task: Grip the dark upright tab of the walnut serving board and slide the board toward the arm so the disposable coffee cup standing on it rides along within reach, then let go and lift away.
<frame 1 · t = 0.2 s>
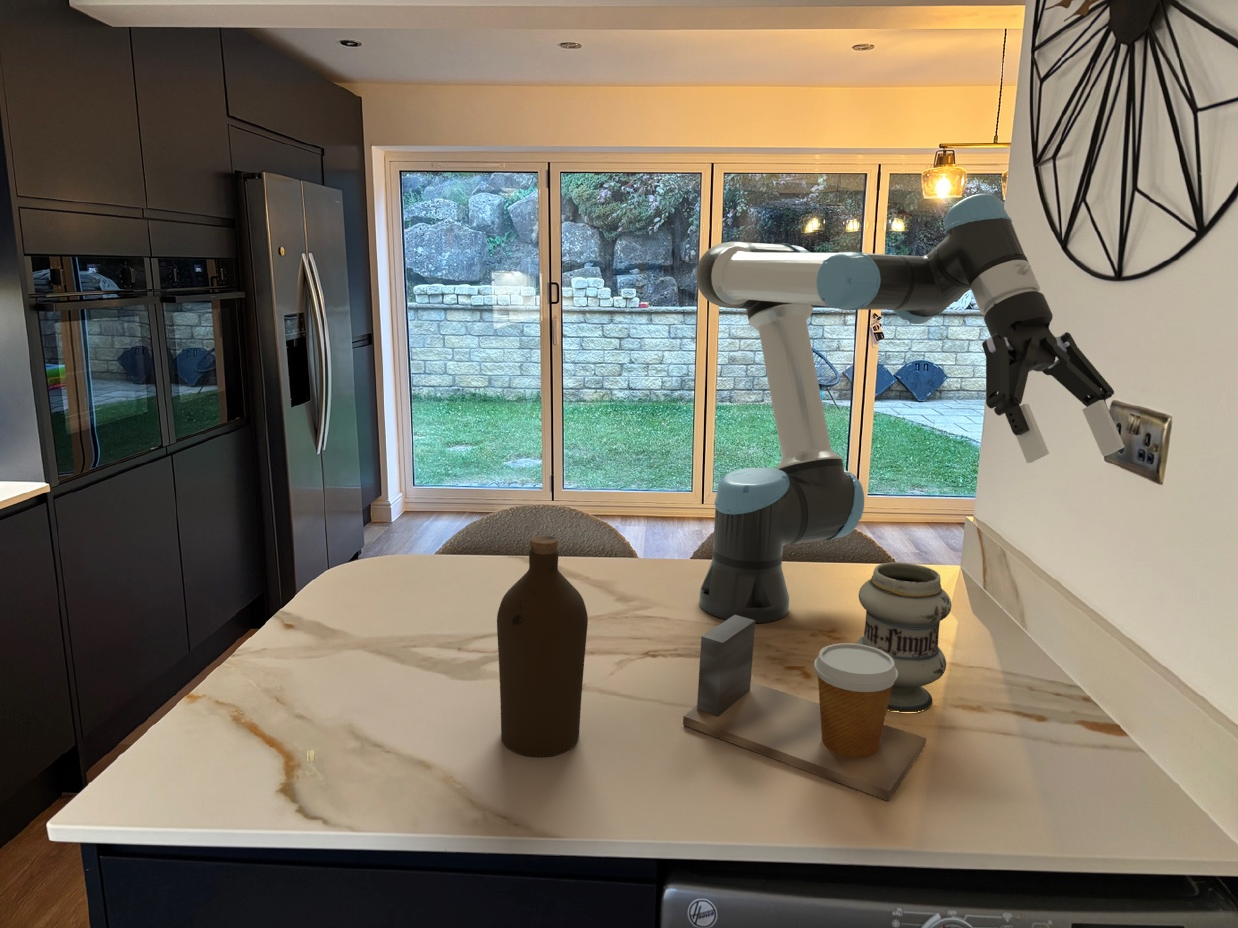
hand: (1077, 455, 106), 36 cm above the kitchen island, tool tilted 35°, fingers open, 13 cm apart
olive oil: (540, 737, 106), on the kitchen island
walnut board: (806, 694, 107), point 6 cm above the kitchen island, slide at 2.9 cm, touching disposable coffee cup
apothecary jar: (893, 697, 120), on the kitchen island
disposable coffee cup: (849, 752, 105), resting on walnut board
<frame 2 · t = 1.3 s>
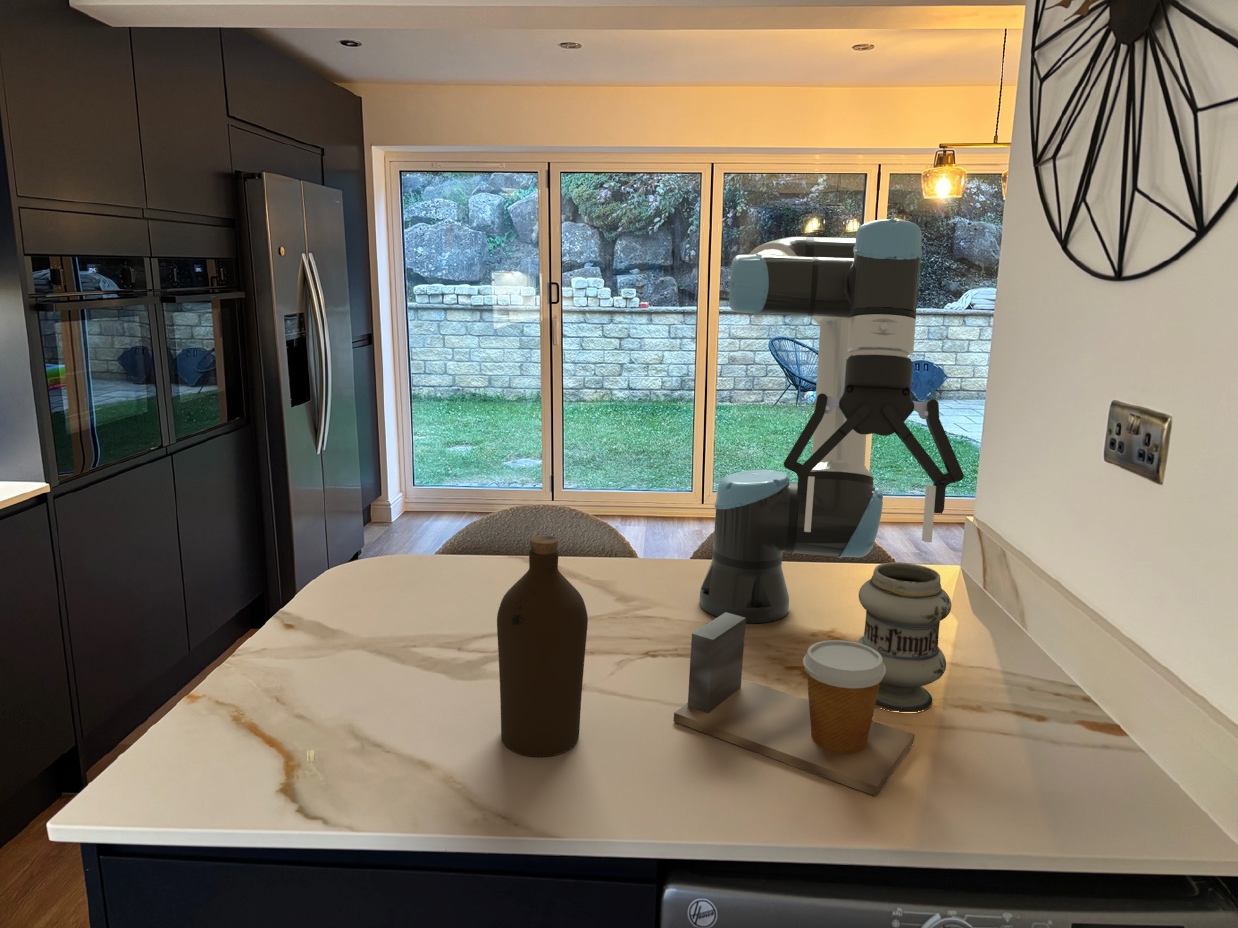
hand: (866, 536, 103), 26 cm above the kitchen island, tool pointing down, fingers open, 13 cm apart
walnut board: (795, 690, 108), point 6 cm above the kitchen island, slide at 4.2 cm, touching disposable coffee cup
disposable coffee cup: (838, 748, 106), resting on walnut board
everything else where it was.
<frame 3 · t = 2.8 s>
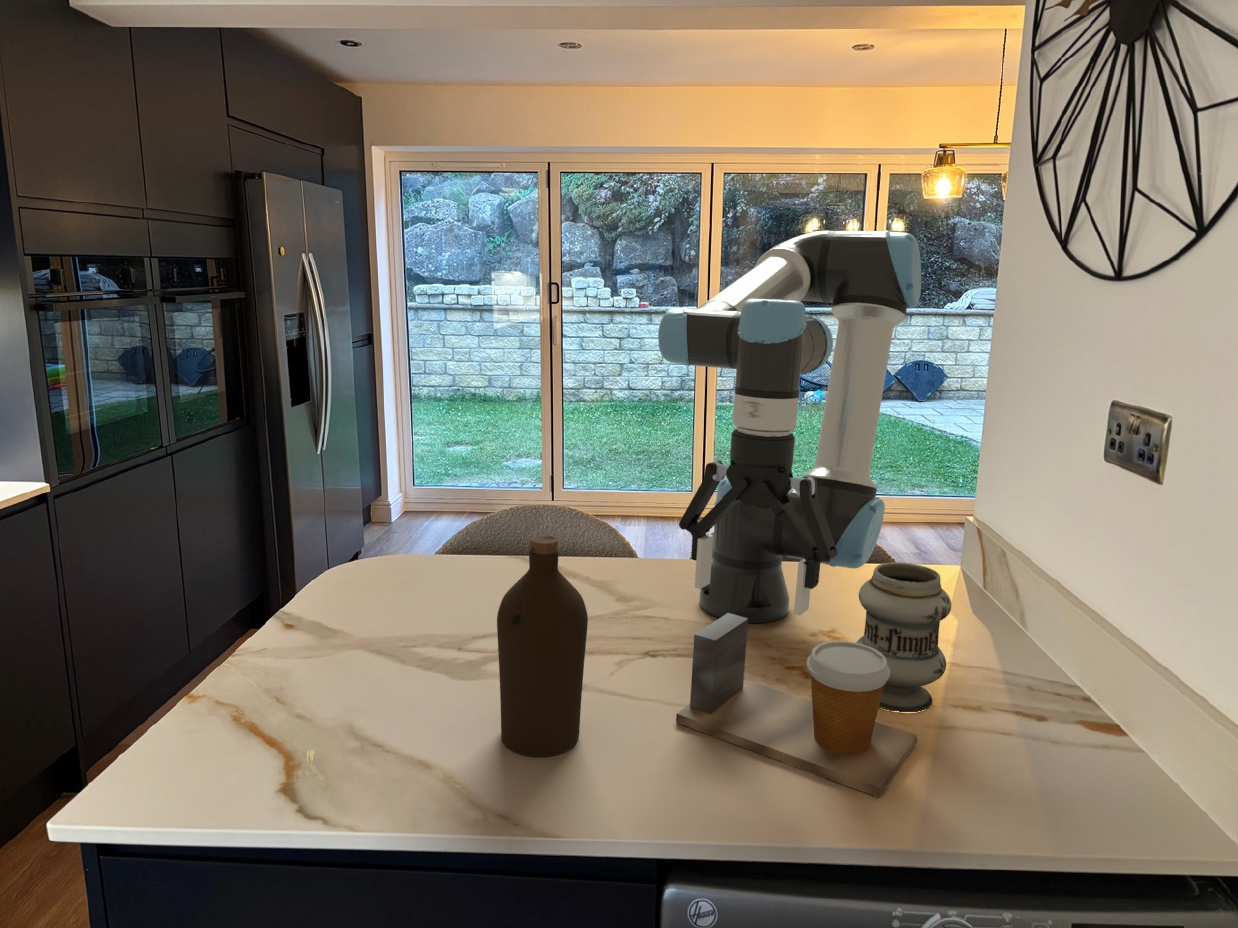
hand: (750, 598, 109), 16 cm above the kitchen island, tool pointing down, fingers open, 13 cm apart
walnut board: (798, 691, 107), point 6 cm above the kitchen island, slide at 3.8 cm, touching disposable coffee cup
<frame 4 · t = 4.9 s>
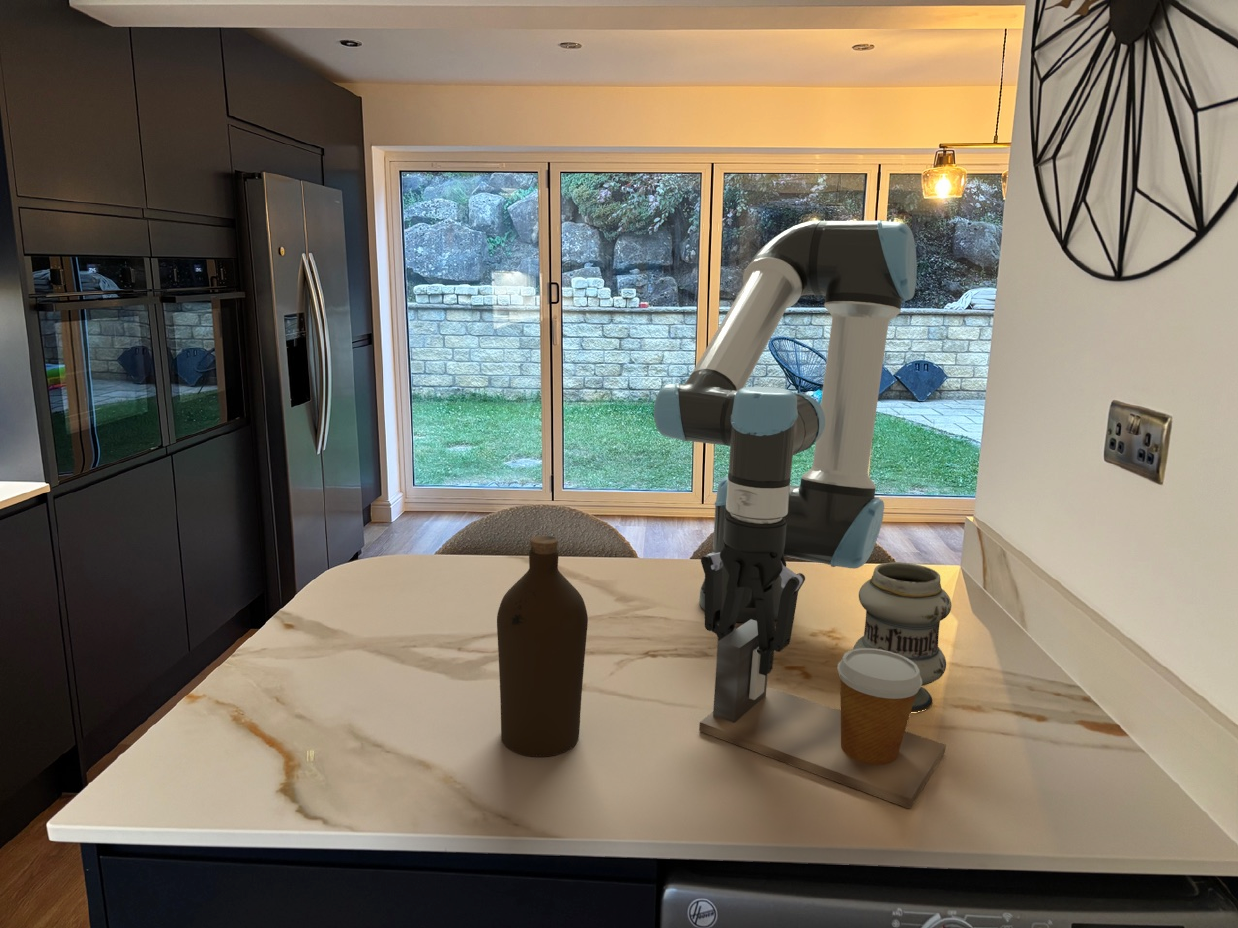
hand: (742, 689, 112), 3 cm above the kitchen island, tool pointing down, fingers open, 3 cm apart
walnut board: (824, 699, 106), point 6 cm above the kitchen island, slide at 0.3 cm, touching disposable coffee cup, gripper
disposable coffee cup: (867, 758, 104), resting on walnut board
everything else where it was.
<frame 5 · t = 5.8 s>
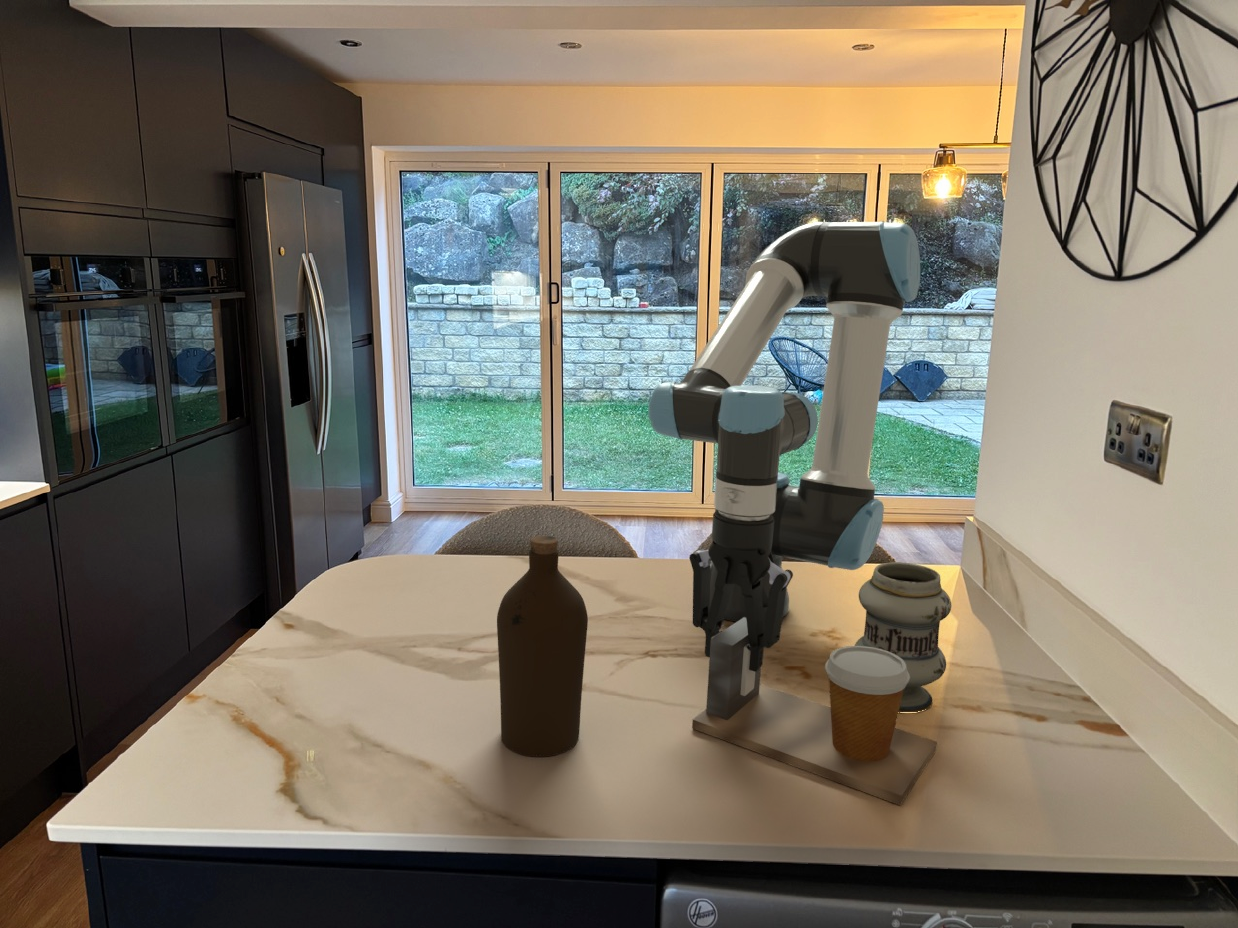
hand: (731, 685, 113), 3 cm above the kitchen island, tool pointing down, fingers open, 4 cm apart
walnut board: (816, 697, 106), point 6 cm above the kitchen island, slide at 1.4 cm, touching disposable coffee cup, gripper
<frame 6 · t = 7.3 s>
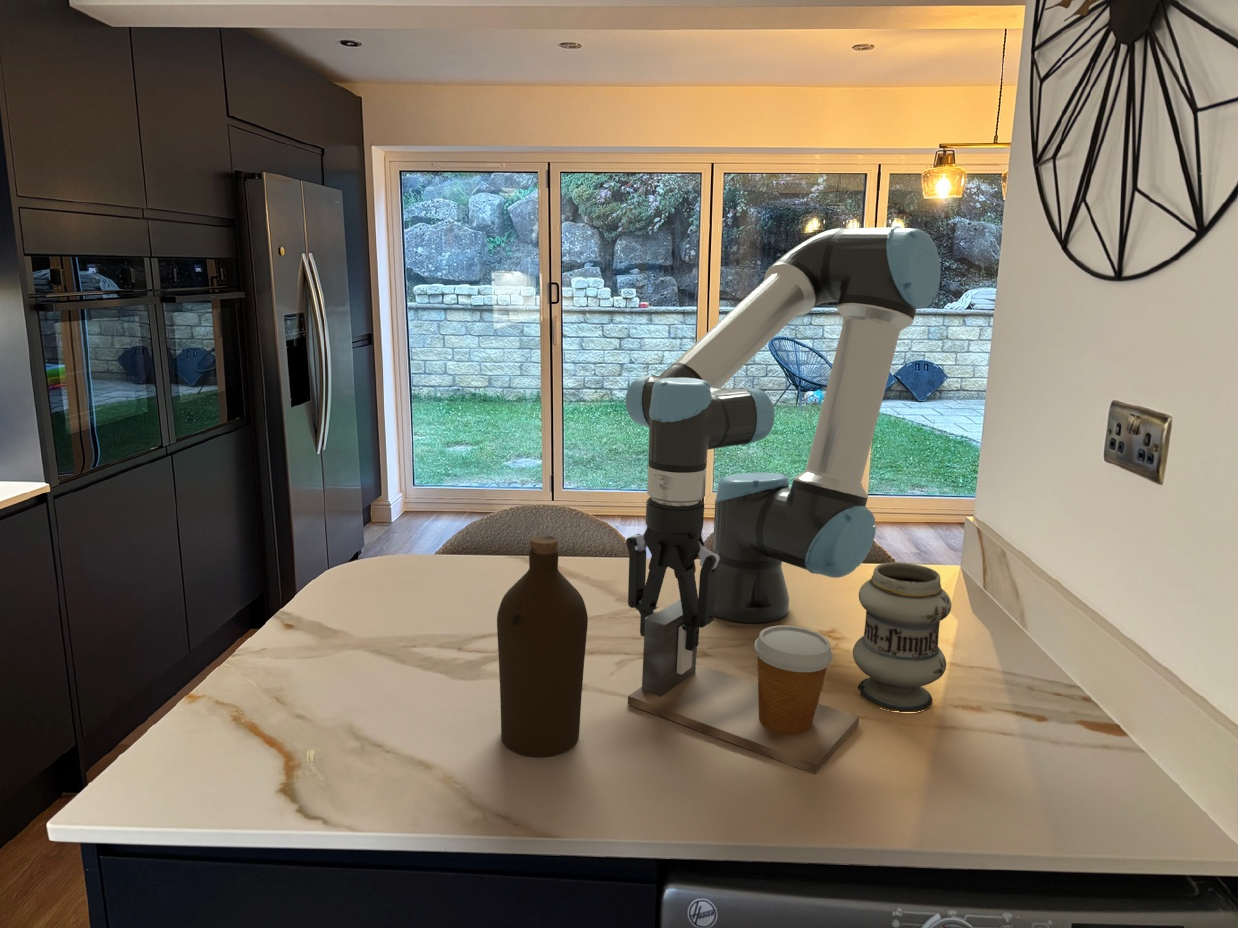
hand: (667, 664, 118), 4 cm above the kitchen island, tool pointing down, fingers open, 4 cm apart
walnut board: (744, 674, 111), point 6 cm above the kitchen island, slide at 11.0 cm, touching disposable coffee cup
disposable coffee cup: (783, 729, 109), resting on walnut board
everything else where it was.
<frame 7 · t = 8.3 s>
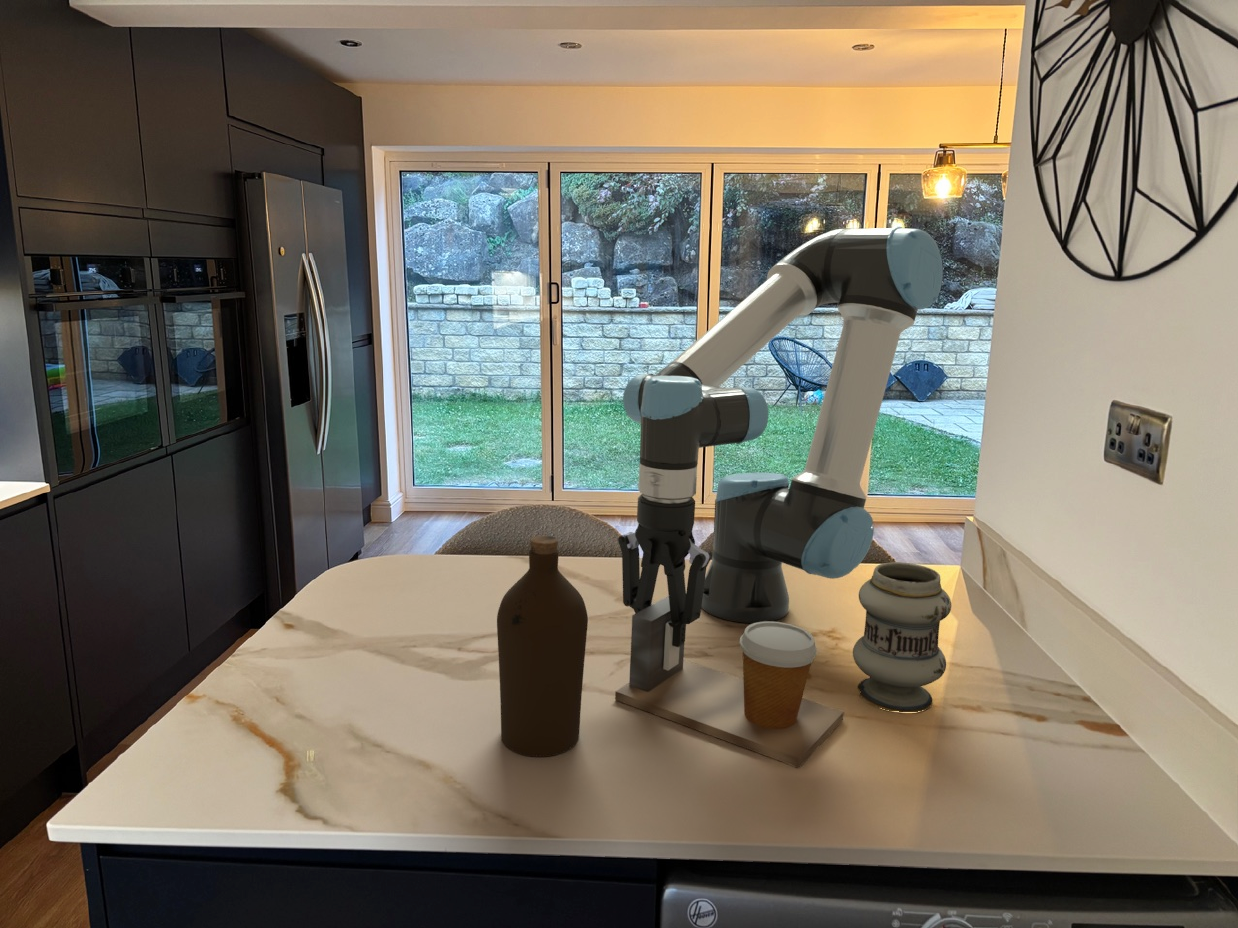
hand: (658, 661, 119), 4 cm above the kitchen island, tool pointing down, fingers open, 3 cm apart
walnut board: (730, 669, 113), point 6 cm above the kitchen island, slide at 12.9 cm, touching disposable coffee cup, gripper
disposable coffee cup: (769, 724, 111), resting on walnut board
everything else where it was.
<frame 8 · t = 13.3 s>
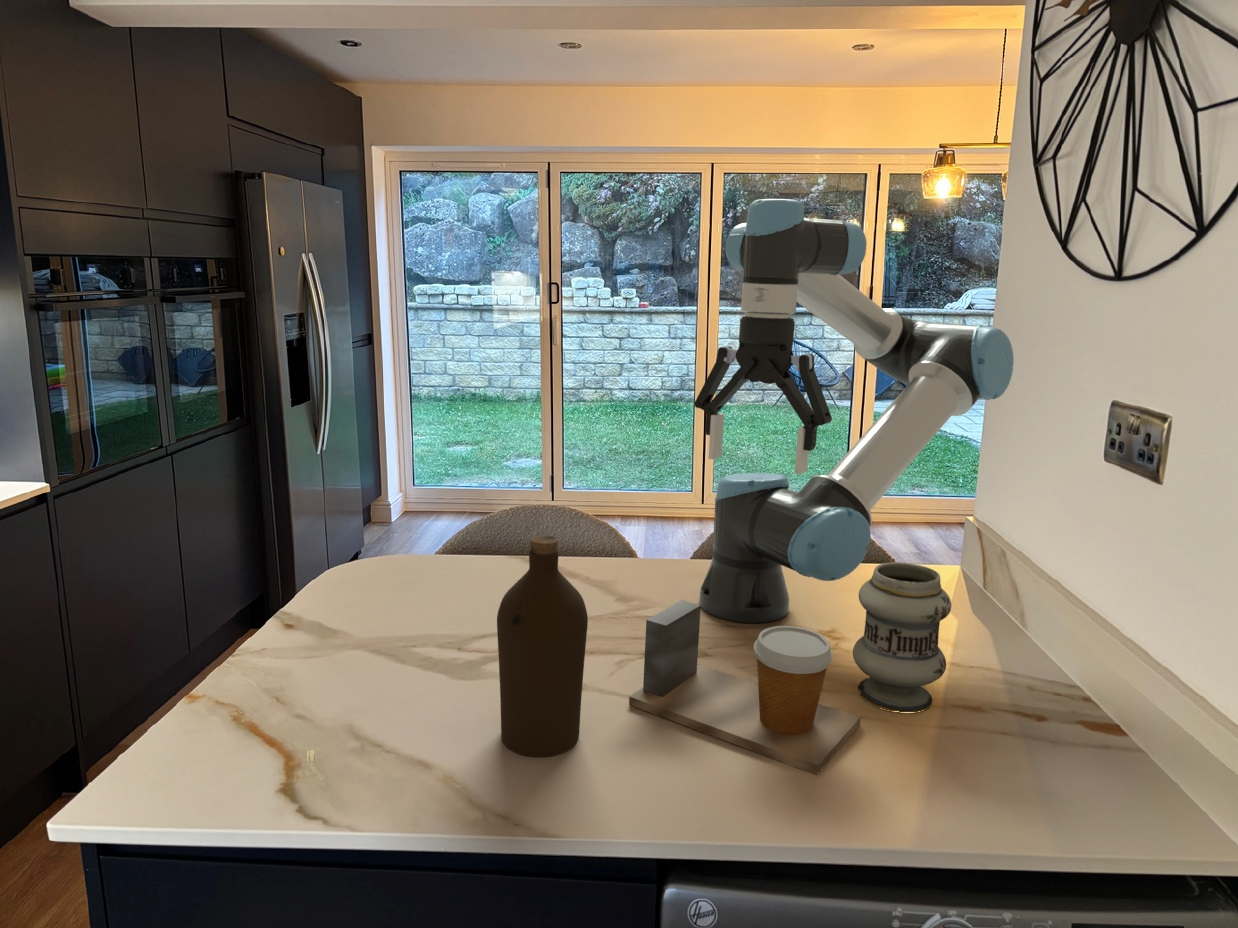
hand: (756, 465, 126), 29 cm above the kitchen island, tool pointing down, fingers open, 13 cm apart
walnut board: (745, 674, 111), point 6 cm above the kitchen island, slide at 10.8 cm, touching disposable coffee cup
disposable coffee cup: (785, 730, 109), resting on walnut board
everything else where it was.
at the end: walnut board slide at 10.8 cm; disposable coffee cup inside the target area (2.5 cm from its centre), resting on walnut board; disposable coffee cup tilted 2° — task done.
